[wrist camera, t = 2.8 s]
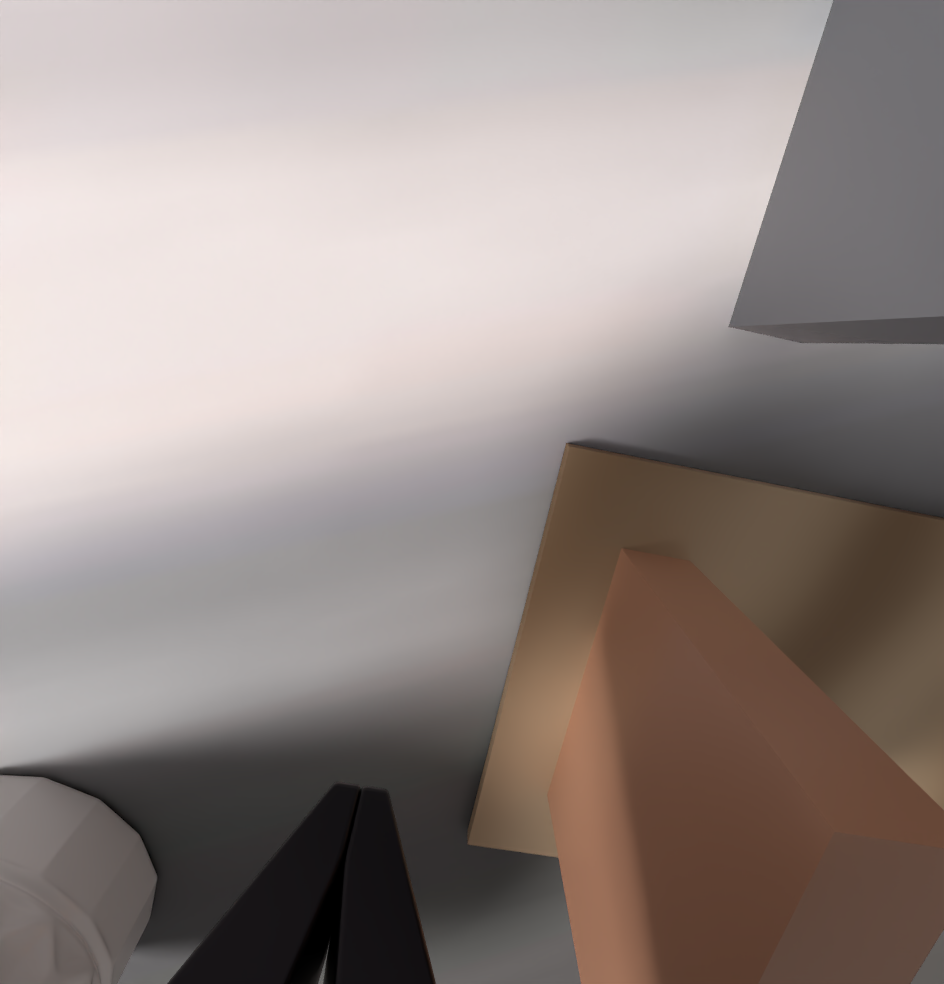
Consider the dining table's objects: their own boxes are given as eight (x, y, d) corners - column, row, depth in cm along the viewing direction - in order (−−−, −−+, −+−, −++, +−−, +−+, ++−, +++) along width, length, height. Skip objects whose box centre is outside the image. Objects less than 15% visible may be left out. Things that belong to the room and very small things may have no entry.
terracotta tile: (691, 561, 12) (993, 855, 5) (608, 804, 14) (746, 1253, 7) (621, 547, 12) (835, 831, 5) (547, 795, 14) (628, 1242, 7)
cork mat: (1104, 549, 12) (1124, 556, 12) (905, 894, 15) (917, 908, 15) (566, 442, 11) (570, 446, 11) (467, 831, 14) (467, 844, 14)
